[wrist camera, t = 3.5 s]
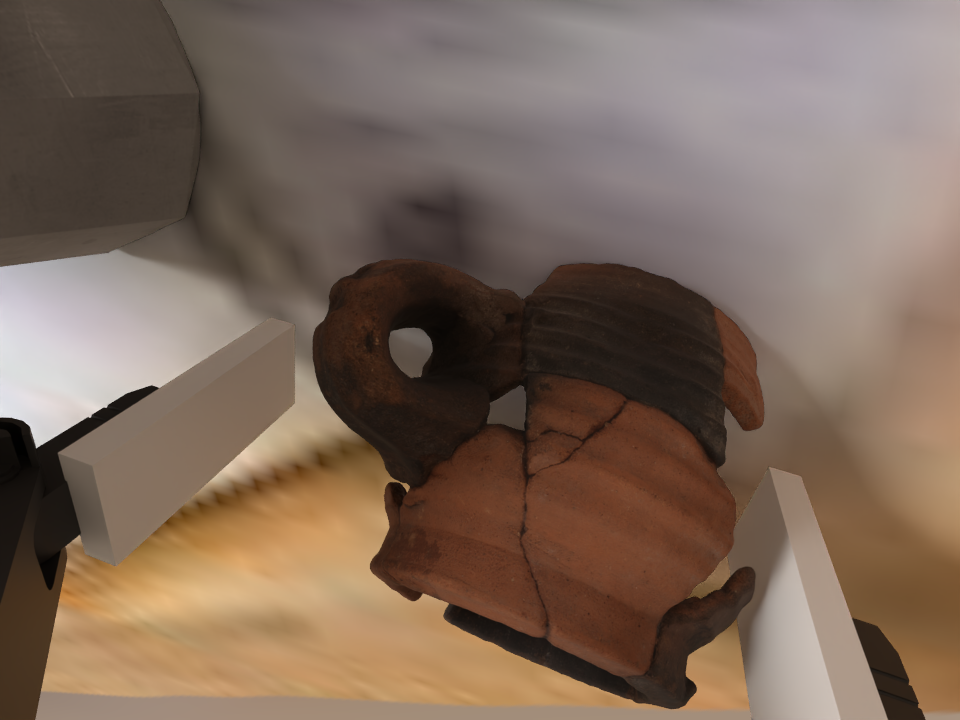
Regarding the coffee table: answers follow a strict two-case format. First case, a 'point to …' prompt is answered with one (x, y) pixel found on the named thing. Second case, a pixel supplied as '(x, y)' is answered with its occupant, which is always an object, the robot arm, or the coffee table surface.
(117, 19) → the coffeepot
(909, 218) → the coffee table surface
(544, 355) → the pottery mug
